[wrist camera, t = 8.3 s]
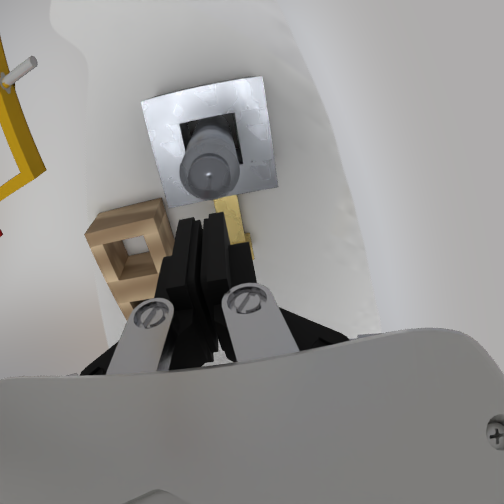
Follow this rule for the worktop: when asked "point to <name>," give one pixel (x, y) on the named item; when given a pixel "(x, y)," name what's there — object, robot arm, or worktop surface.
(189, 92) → the socket block
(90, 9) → the worktop surface
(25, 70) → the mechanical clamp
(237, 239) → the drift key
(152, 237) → the rack
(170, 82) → the worktop surface
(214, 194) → the brushed metal cylinder
